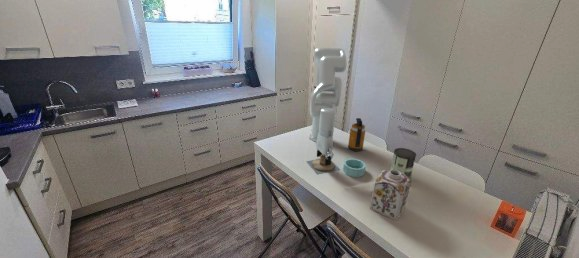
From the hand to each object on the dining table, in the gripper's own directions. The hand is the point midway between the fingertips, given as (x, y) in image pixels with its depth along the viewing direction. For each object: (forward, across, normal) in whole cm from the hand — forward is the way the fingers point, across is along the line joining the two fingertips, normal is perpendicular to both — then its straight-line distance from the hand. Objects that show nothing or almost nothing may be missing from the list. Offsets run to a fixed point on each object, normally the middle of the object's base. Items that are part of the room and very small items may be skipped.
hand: (323, 160), depth 136 cm
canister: (+4, -12, +29) cm, 32 cm away
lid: (+3, 0, 0) cm, 3 cm away
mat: (+4, 0, 0) cm, 4 cm away
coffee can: (+4, +21, +34) cm, 40 cm away
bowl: (+4, +10, +13) cm, 17 cm away
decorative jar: (+4, +39, +11) cm, 41 cm away
